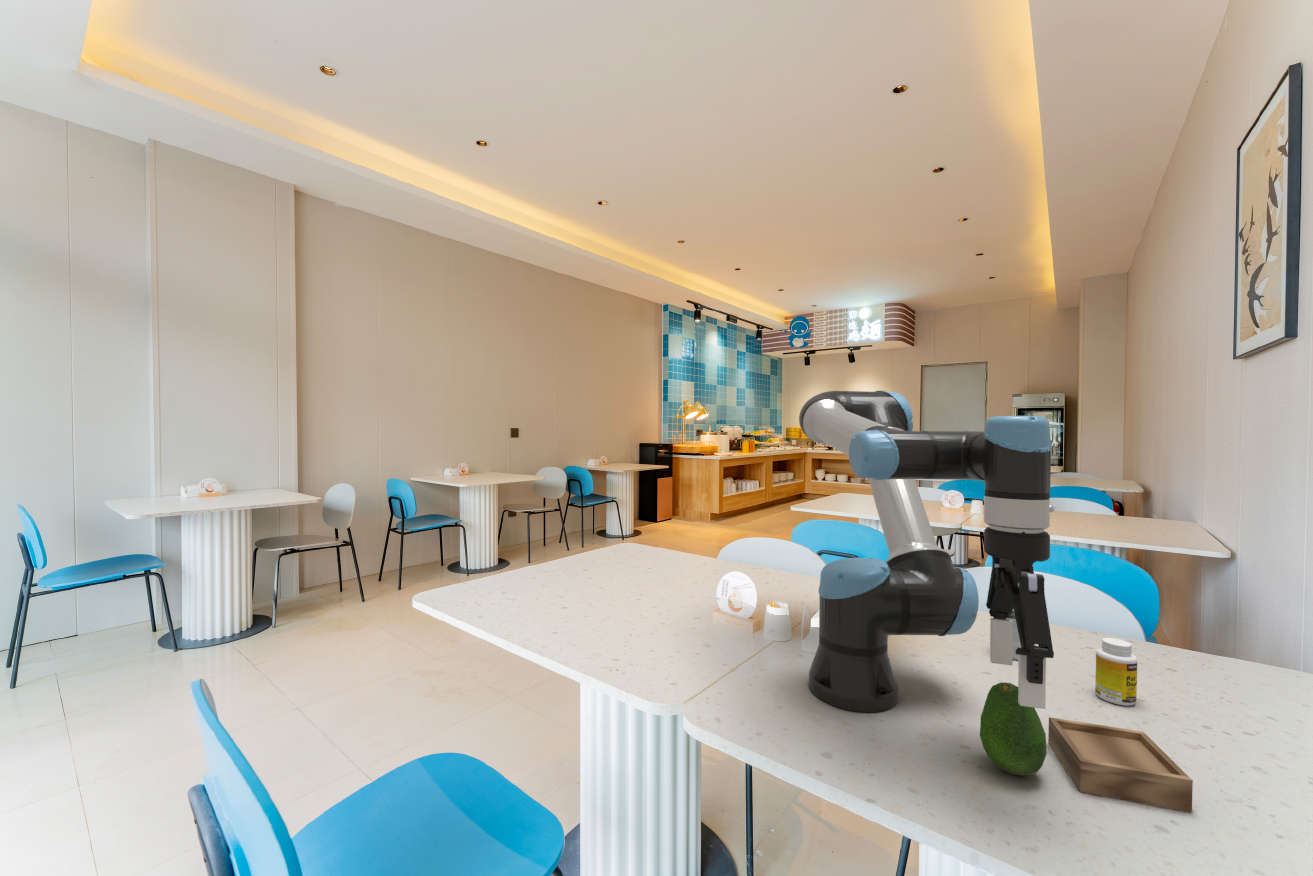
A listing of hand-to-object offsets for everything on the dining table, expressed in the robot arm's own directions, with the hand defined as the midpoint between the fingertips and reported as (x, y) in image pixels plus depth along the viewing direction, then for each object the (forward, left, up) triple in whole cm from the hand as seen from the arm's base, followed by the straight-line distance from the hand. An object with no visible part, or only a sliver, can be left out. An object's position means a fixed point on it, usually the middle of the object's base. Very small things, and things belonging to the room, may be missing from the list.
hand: (1015, 683), depth 74 cm
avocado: (0, 0, -13) cm, 13 cm away
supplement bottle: (+23, +30, -13) cm, 40 cm away
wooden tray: (+13, +4, -13) cm, 18 cm away
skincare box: (+12, +45, -13) cm, 49 cm away
